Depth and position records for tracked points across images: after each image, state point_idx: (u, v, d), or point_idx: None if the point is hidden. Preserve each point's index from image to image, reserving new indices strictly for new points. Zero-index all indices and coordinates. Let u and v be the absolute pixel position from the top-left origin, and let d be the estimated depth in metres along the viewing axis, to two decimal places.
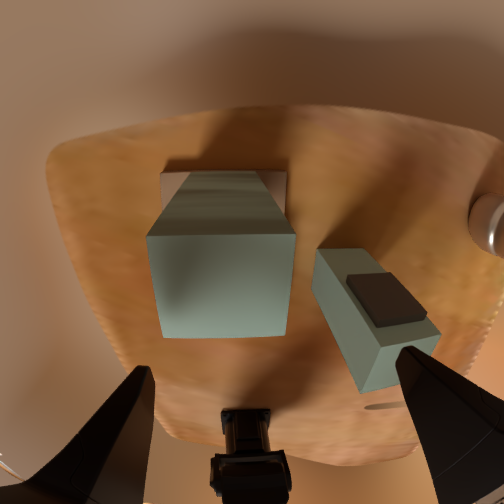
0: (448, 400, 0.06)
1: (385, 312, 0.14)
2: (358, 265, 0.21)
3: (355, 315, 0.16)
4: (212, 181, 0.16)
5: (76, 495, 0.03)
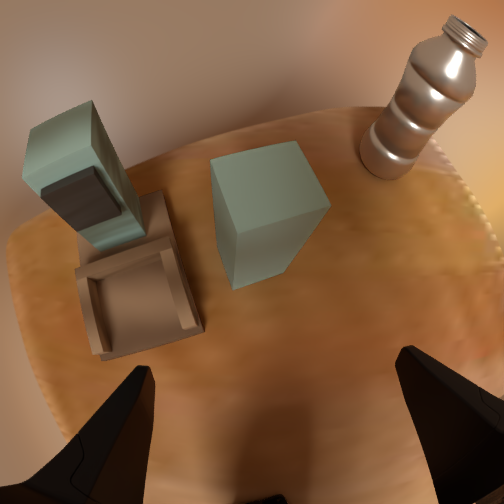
0: (448, 400, 0.06)
1: None
2: None
3: (215, 203, 0.16)
4: None
5: (76, 495, 0.03)
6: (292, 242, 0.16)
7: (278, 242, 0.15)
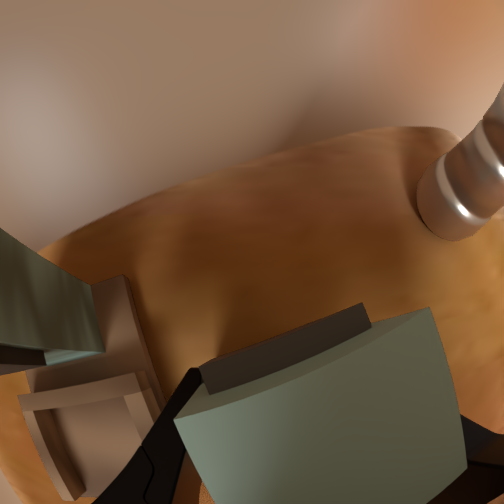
0: None
1: (231, 355, 0.06)
2: None
3: None
4: None
5: None
6: None
7: None
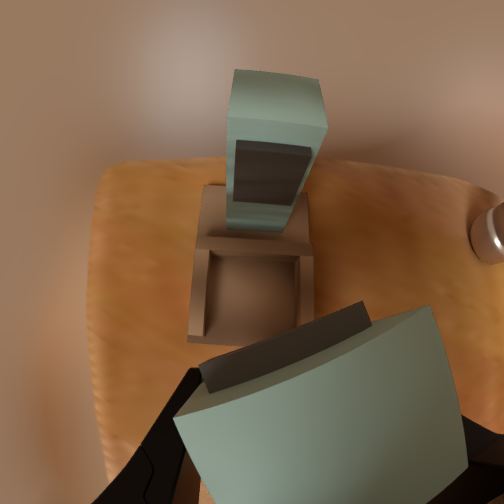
0: None
1: (231, 353, 0.06)
2: None
3: None
4: None
5: None
6: None
7: None
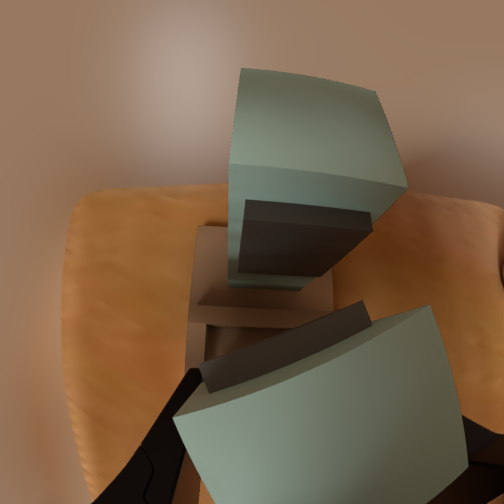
0: None
1: (231, 353, 0.06)
2: None
3: None
4: None
5: None
6: None
7: None
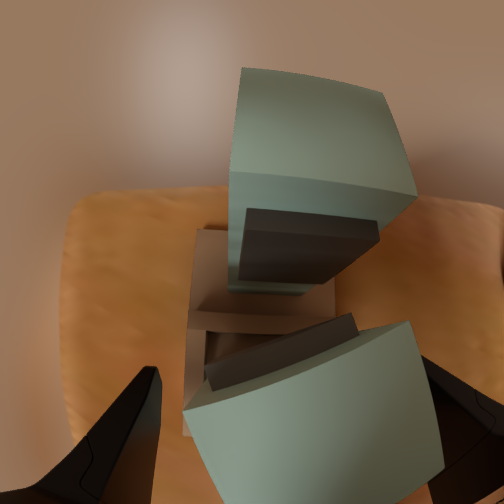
0: (443, 402, 0.06)
1: (232, 356, 0.06)
2: None
3: None
4: None
5: (85, 498, 0.03)
6: None
7: None
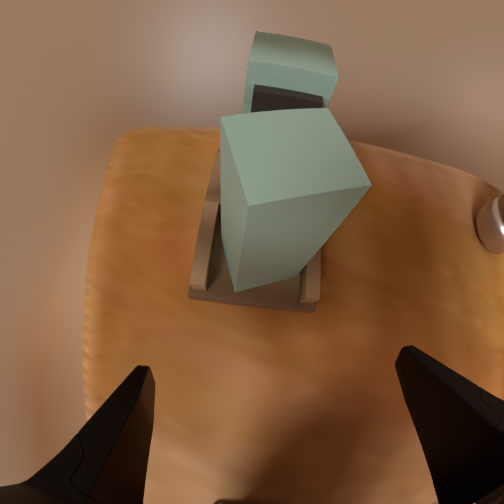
0: (448, 400, 0.06)
1: None
2: None
3: (222, 178, 0.13)
4: None
5: (76, 495, 0.03)
6: (314, 234, 0.13)
7: (298, 231, 0.12)
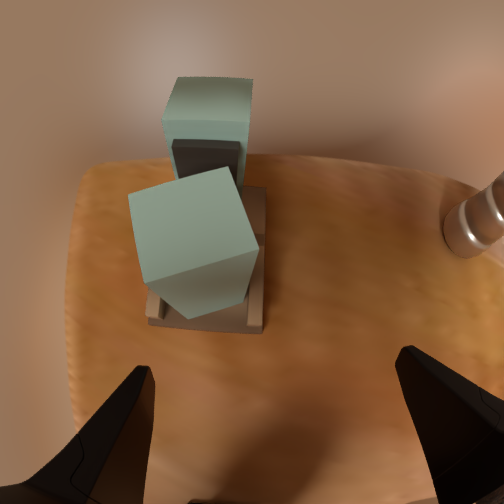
0: (448, 400, 0.06)
1: None
2: None
3: None
4: None
5: (76, 495, 0.03)
6: (230, 282, 0.14)
7: (209, 283, 0.13)
